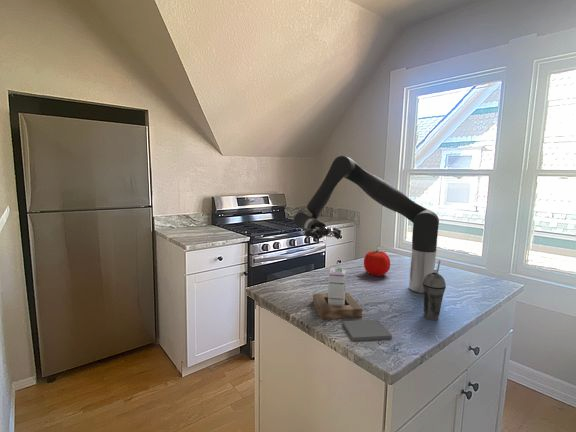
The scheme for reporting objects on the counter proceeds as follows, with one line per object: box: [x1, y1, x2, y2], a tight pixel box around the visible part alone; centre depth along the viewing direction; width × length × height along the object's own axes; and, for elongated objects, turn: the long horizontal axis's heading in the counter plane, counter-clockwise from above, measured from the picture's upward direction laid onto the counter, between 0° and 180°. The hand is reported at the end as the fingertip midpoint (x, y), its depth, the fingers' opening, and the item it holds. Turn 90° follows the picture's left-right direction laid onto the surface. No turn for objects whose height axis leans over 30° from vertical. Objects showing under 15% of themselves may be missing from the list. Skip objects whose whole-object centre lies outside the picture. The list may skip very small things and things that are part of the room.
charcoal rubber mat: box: [342, 319, 393, 342], centre depth 99 cm, size 12×10×1 cm
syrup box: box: [327, 267, 347, 306], centre depth 113 cm, size 6×6×14 cm
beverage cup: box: [422, 260, 447, 321], centre depth 108 cm, size 7×7×20 cm
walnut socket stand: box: [312, 292, 363, 320], centre depth 113 cm, size 14×14×3 cm
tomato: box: [363, 249, 391, 277], centre depth 151 cm, size 12×13×12 cm
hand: (328, 236), depth 121 cm, fingers open, 8 cm apart
